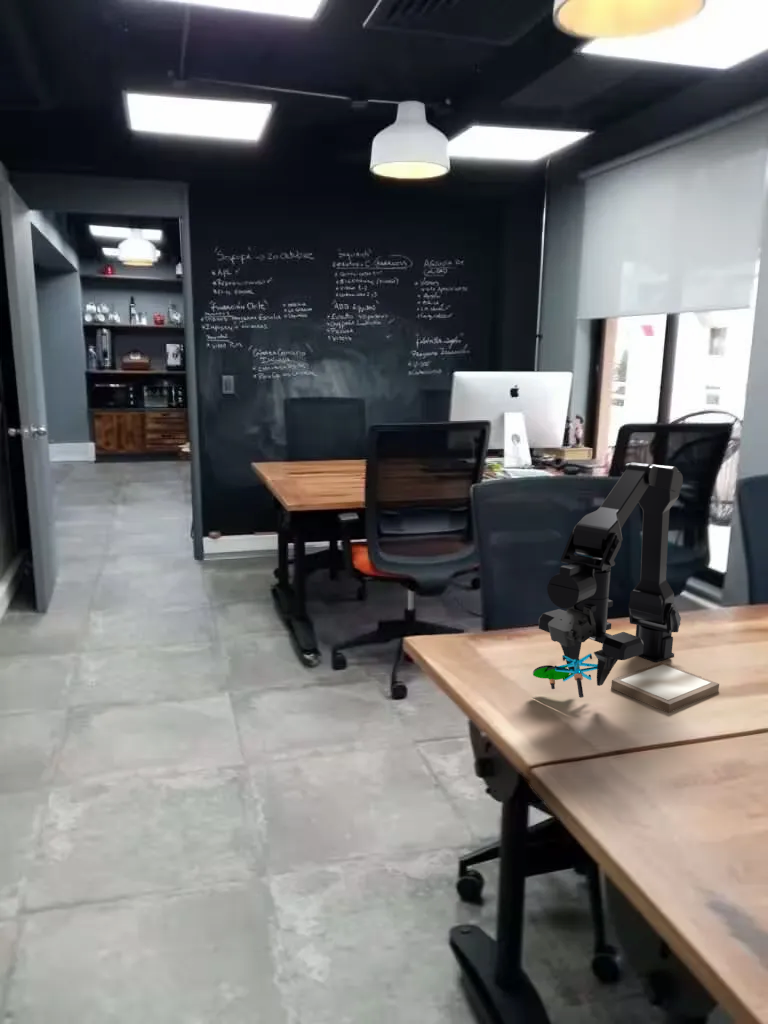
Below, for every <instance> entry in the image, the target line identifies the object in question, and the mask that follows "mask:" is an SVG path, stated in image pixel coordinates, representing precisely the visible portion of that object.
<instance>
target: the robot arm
mask: <svg viewBox="0 0 768 1024" xmlns="http://www.w3.org/2000/svg"><path fill="white" fill-rule="evenodd" d="M622 471H623V472H622V475H621V476H620V478H619V479H618V480H617V482H616V483H615V484H614V486H613V488H612V489H611V491H610V492H609V494H608V495H607V496H606V498H605V499H604V500H603V502H602V504H601V505H600V507H598V508H597V510H595V511H593V512H589V513H587V514H585V515H584V516H583V517H582V518H581V519H580V520H579V522H577V524H575V526H574V527H573V529H572V530H571V533H570V535H569V536H568V541H567V542H566V545H565V547H564V549H563V552H562V556H561V558H560V562H561V563H563V565H561V566H559V573H557V574H555V575H554V576H553V577H551V578H550V580H549V581H548V584H547V588H546V590H547V596H548V597H549V599H550V601H551V602H552V604H554V605H555V606H556V607H557V608H558V609H553V610H549V611H546V612H543V613H542V614H541V615H540V616H539V618H538V629H539V630H540V631H544V632H547V633H548V634H549V635H550V638H551V639H550V640H551V641H552V642H555V643H559V645H560V647H561V649H562V653H563V655H565V656H567V657H569V658H571V659H572V660H574V659H577V657H579V658H580V653H581V648H582V644H583V643H585V642H586V641H587V640H590V641H591V640H592V641H594V642H597V643H599V644H601V645H602V646H601V649H599V650H597V651H594V652H593V654H594V656H595V657H596V658H597V663H596V664H597V669H596V686H599V687H600V686H602V685H603V684H604V683H605V681H606V679H607V678H608V676H609V674H610V673H611V671H612V669H613V668H614V666H615V664H616V663H617V662H618V661H626V660H629V659H632V658H634V657H637V656H638V657H640V658H643V659H645V660H648V661H651V662H652V663H653V662H654V663H660V662H662V661H665V660H667V659H670V658H673V657H674V656H675V652H673V645H674V644H673V642H674V637H673V636H672V635H673V633H678V632H679V630H680V629H679V628H680V626H681V621H682V617H681V615H680V613H679V611H678V608H677V606H676V604H675V593H674V591H673V588H672V586H671V585H670V583H669V582H668V580H667V569H668V568H667V563H668V547H669V545H668V544H669V525H670V509H671V508H672V507H673V506H674V504H675V503H676V501H677V500H678V498H679V497H680V492H681V490H682V488H683V487H682V486H683V483H684V482H683V481H684V477H683V474H682V473H681V471H679V468H678V467H676V466H672V465H663V464H662V465H661V464H654V463H653V464H652V463H643V462H642V463H641V462H635V461H633V462H629V463H626V464H625V465H624V468H623V470H622ZM638 504H639V506H640V508H641V509H642V529H641V530H642V532H641V552H640V553H641V554H640V555H641V556H640V557H641V558H640V579H639V580H640V581H639V582H638V583H637V585H635V587H634V588H633V589H632V590H631V591H630V592H629V601H628V605H627V606H628V607H627V608H628V615H629V616H628V617H629V618H628V619H629V624H631V625H636V626H635V635H633V634H631V633H628V632H625V631H621V632H617V633H616V634H610V633H607V631H608V630H611V629H612V623H611V622H609V621H608V611H609V610H608V609H610V608H611V607H613V606H614V601H613V600H611V599H609V598H610V597H609V596H610V584H611V583H610V582H611V570H612V569H611V568H612V567H614V566H615V565H616V562H615V559H616V557H617V554H618V552H619V551H620V548H621V546H622V542H623V541H624V540H623V539H624V538H623V535H622V534H623V533H622V529H623V526H624V525H625V523H626V522H627V520H628V518H629V517H630V516H631V514H632V512H634V509H635V508H636V506H637V505H638ZM575 553H576V554H575ZM583 555H584V556H583ZM564 564H567V565H564ZM563 609H566V610H563ZM565 662H566V664H570V662H569V661H567V660H566V659H565ZM567 669H574V666H573V667H567Z"/></svg>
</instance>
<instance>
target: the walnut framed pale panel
mask: <svg viewBox="0 0 768 1024" xmlns="http://www.w3.org/2000/svg"><path fill="white" fill-rule="evenodd" d="M610 687H611V689H612V690H615V691H617V692H619V693H622V694H624V695H627V696H629V697H631V698H632V699H636V700H638V701H640V702H642V703H644V704H647V705H649V706H652V707H654V708H657V709H659V710H662V711H664V712H666V713H668V714H669V713H670V714H671V713H672V712H674V711H677V710H679V709H680V708H683V707H685V706H688V705H691V704H692V703H695V702H697V701H700V700H701V699H704V698H707V697H708V696H711V695H713V694H716V693H717V692H719V688H720V683H718V682H715V681H713V680H710V679H708V678H705V677H702V676H700V675H697V674H695V673H692V672H689V671H687V670H684V669H682V668H679V667H677V666H673V665H671V664H667V663H665V662H662V661H660V662H657V663H656V664H652V665H650V666H647V667H644V668H642V669H641V668H640V669H638V670H636V671H632V672H630V673H628V674H624V675H621V676H619V677H616V678H614V679H613V678H612V679H611V686H610Z"/></svg>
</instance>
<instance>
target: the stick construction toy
mask: <svg viewBox="0 0 768 1024" xmlns="http://www.w3.org/2000/svg"><path fill="white" fill-rule="evenodd" d="M561 657H562V661H563V662H564V661H565V662H566V660H567V661H569V662H570V664H567V663H565V664H560V665H558V666H557V665H548V664H547V665H545V664H544V665H541V666H538V667H536V668H535V669H534V670H533V671H532V675H533V677H535V678H539V679H547V680H548V681H549V685H550V688H551V690H555V689H556V687H555V686H556V681H558V680H562V682H566V681H568V680H569V679H572V678H574V679H573V680H574V681H576V686H577V692H578V698H579V699H580V698H581V699H582V698H584V689H583V684H582V681H583V679H584V678H585V679H587V680H589V681H591V680H592V675H591V674H588V675H587V674H586V672H590V671H597V664H598V663H588V662H585V661H586V660H588V659H590V660H593V653H591V652H590V653H588V654H586V655H585V656H583V657H582V658H580V656H579V657H577V659H574V660H572V659H571V658H569V657H567V656H565V655H564V654H563V655H562V656H561ZM573 666H574V669H568V667H573ZM580 667H586V668H580Z"/></svg>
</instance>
